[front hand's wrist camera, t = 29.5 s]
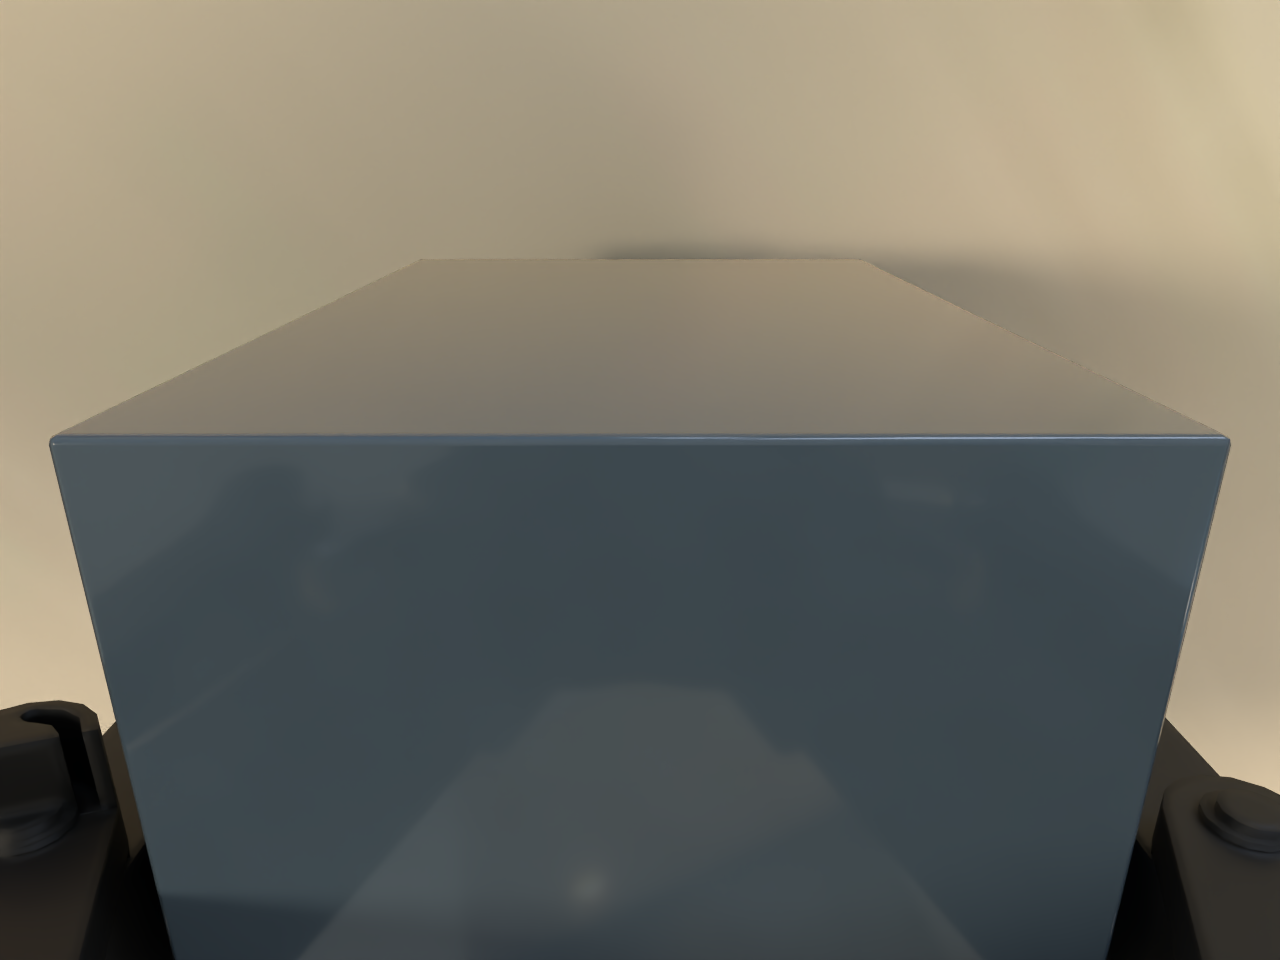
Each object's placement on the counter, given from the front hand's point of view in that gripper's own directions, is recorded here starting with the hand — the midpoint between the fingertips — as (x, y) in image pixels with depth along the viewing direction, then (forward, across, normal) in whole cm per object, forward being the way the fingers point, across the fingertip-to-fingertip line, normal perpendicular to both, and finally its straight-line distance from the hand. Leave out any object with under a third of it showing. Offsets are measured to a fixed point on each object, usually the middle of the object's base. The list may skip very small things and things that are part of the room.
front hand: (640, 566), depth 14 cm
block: (+2, 0, 0) cm, 2 cm away
